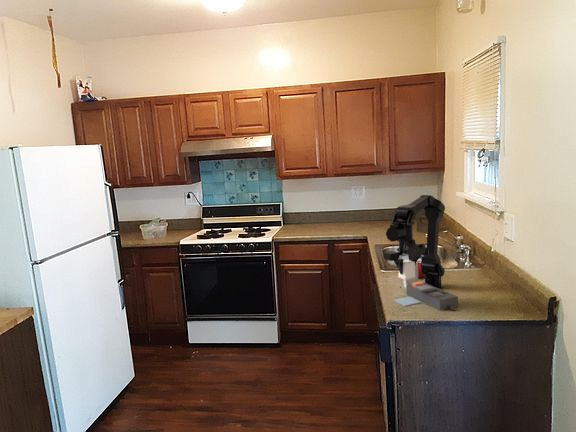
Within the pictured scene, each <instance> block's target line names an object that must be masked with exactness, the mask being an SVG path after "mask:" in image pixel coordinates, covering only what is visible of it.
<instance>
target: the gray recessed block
mask: <svg viewBox="0 0 576 432" xmlns="http://www.w3.org/2000/svg"><path fill="white" fill-rule="evenodd" d="M418 281H419V280H418ZM406 287H407V289H406V295H407V297H412V298H414V299H416V300H418V301H420V302H421V303H423V304H425V305H428V306H430V307H432V308H433V309H435V310H438V311H444V310H448V309H450V310H452V311H453V312H455V311H456V310H457V307H458V306H459V296H458V295H455V294H453V293H451V292H448V291H446V290H443V289H442V288H440V289H439V288H436V287H434V286H431V285H429V284H426V283H425V281H424V282H422V281H419V282H414V283H412V285H407V286H406Z"/></svg>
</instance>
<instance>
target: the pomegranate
mask: <svg viewBox="0 0 576 432" xmlns="http://www.w3.org/2000/svg"><path fill="white" fill-rule="evenodd" d="M417 263H418V279H421V278H424V277H426V274H422V270H421V261H420V260H417Z"/></svg>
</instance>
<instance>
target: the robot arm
mask: <svg viewBox="0 0 576 432" xmlns="http://www.w3.org/2000/svg"><path fill="white" fill-rule="evenodd" d="M445 210H446V206H445V204H444V203H443V201H441V200H439V199H437V198H435V197H434V196H433V195H430V194H422V195H420V196H419V197H418V198H417V199H415V200H413V201H412V202H410V203H408V204H404V205H403V204H402V205H399V206H397V207H396V209H395V210H394V213H393V216H392V220H391V222H390V224H389V228H387V229H386V232H385V236H386V238H387V240H388V241H390V242H398V248H396V251H394V250H388V251H384V253H383V259H385V260H386V261H390V262H394V264H395V266H396V268H397V270H398V273H399V272H400V274H403V261H404V260H405V259H403V257H404V256H408V260H410V261H413V262H415V265H416V262H417V261H419V260H420V259H421V261H420V263H421V270H422V274H426V275H425V278H424V283H426V284H429V285H431V286H434V287H436V288H439V289H444V286H443V285H442V277H444V275H445V272H446V271H445V268H444V267H443V265H442V260H441V257H440V255H439V254H438V249H439V235H440V234H439V232H440V231H439V230H440V221H441V220H442V218H444V214H445ZM420 211H424V216H426V218H425V219H426V220H427V223H428V230H427V233H426V244H424V243H419V244H416V240H415V238H414V234H413V233H414V231H413V227H414V225H416V224H415V222H414V220H415V219H414V218H415V217H416V215H417V213H419V212H420Z"/></svg>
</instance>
